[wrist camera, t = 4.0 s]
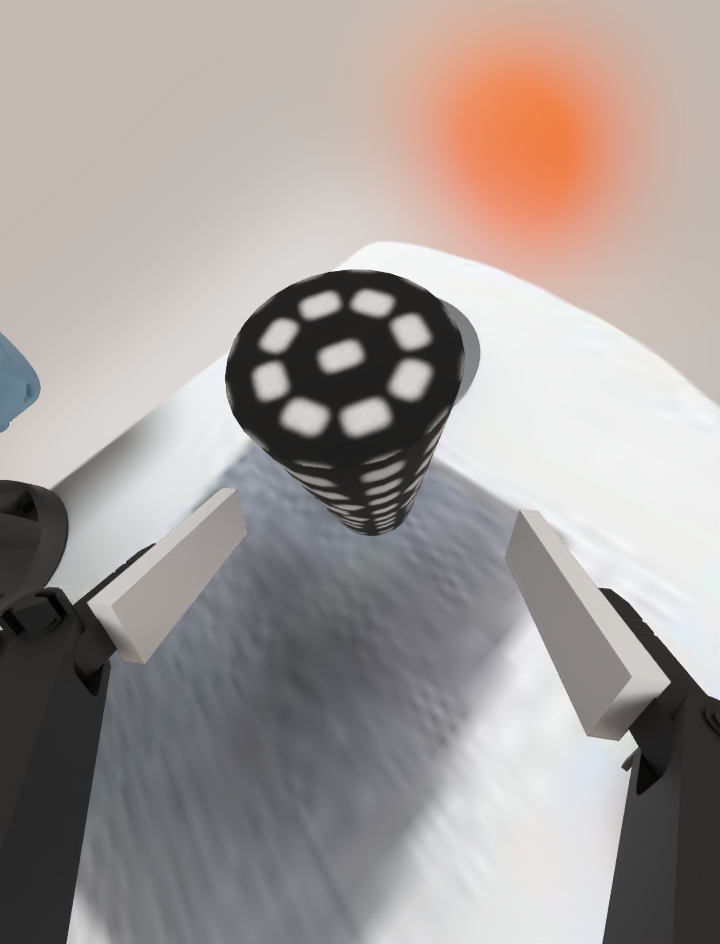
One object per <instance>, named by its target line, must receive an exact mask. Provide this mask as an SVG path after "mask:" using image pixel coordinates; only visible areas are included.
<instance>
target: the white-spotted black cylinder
mask: <svg viewBox="0 0 720 944" xmlns="http://www.w3.org/2000/svg"><path fill="white" fill-rule="evenodd" d="M464 361H465V351H464V346H463V341H462V336H461V333H460V331H459V329H458V326H457V324H456V322H455V320H454V318H453V316H452V315H451V314H450V312H449V311H448V310H447V308H446V307H445V306H444V305H443V303H442V302H441V301H440V300H439V299H437V298H436V297H435V296H434V295H433V294H431V293H430V292H429V291H428V290H426V289H425V288H423V287H421V286H419V285H418V284H416V283H414V282H412V281H410V280H408V279H405V278H402V277H399V276H396V275H393V274H390V273H385V272H379V271H373V270H342V271H334V272H328V273H324V274H321V275H316V276H313V277H309V278H307V279H304V280H302V281H300V282H297V283H295V284H292V285H290V286H288V287H287V288H285V289H283V290H282V291H280V292H278V293H277V294H275V295H274V296H272V297H271V298H270V299H268V300H267V301H266V302H265V303H264V304H263V305H261V306H260V307H259V308H258V309H257V310H256V311H255V312H254V313H253V314H252V315H251V317H250V318H249V319H248V320H247V321H246V322H245V324H244V325H243V327H242V328H241V330H240V332H239V333H238V335H237V337H236V338H235V340H234V342H233V346H232V348H231V351H230V353H229V356H228V360H227V367H226V374H225V382H226V393H227V398H228V401H229V404H230V407H231V410H232V413H233V415H234V417H235V418H236V420H237V421H238V423H239V424H240V426H241V427H242V429H243V431H244V432H245V433H246V434H247V435H248V436H249V437H250V438H252V439H253V440H254V441H255V442H256V443H257V444H258V445H259V446H260V447H261V448H262V449H263V450H264V451H265V452H266V453H268V454H269V455H270V456H271V457H272V458H273V459H274V460H275V461H276V462H277V463H278V464H279V465H280V466H282V467H283V468H284V469H285V470H286V471H287V472H288V473H289V474H290V475H291V476H292V477H293V478H294V479H296V480H297V481H298V482H299V483H300V484H301V485H302V486H303V487H304V488H305V489H306V490H307V491H308V492H310V493H311V494H312V495H313V496H314V497H315V498H316V499H317V500H318V501H319V502H320V503H321V504H322V505H324V506H325V507H326V508H327V509H328V510H329V511H330V512H331V513H332V514H333V515H334V516H335V517H337V518H338V519H339V520H340V521H341V522H342V523H343V524H344V525H345V526H346V527H347V528H349V529H351V530H352V531H354V532H356V533H359V534H362V535H368V536H376V535H382V534H386V533H388V532H390V531H392V530H394V529H396V528H397V527H398V526H399V525H401V524H402V522H403V521H404V520H405V519H406V517H407V516H408V514H409V512H410V510H411V507H412V505H413V502H414V500H415V498H416V495H417V493H418V490H419V488H420V485H421V483H422V480H423V478H424V476H425V473H426V471H427V468H428V466H429V463H430V461H431V458H432V456H433V454H434V451H435V449H436V446H437V444H438V441H439V439H440V436H441V434H442V432H443V429H444V427H445V424H446V422H447V419H448V417H449V414H450V412H451V410H452V407H453V405H454V402H455V400H456V397H457V395H458V392H459V388H460V385H461V382H462V378H463V375H464Z"/></svg>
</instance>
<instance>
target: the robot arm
mask: <svg viewBox="0 0 720 944" xmlns="http://www.w3.org/2000/svg"><path fill="white" fill-rule="evenodd" d="M39 394H40V382H39V379H38V377H37V374H36V372H35V371H34V369H33V368H32V367H31V365H30V363H29V362H28V361H27V360H26V359H25V357H24V356H23V355H22V354H21V353H20V352H19V351H18V349H17V348H16V347H15V346H14V345H13V344H12V343H11V342H10V341H9V340H8V339H7V338H6V337H5V336H4V335H3V334H2V333H1V332H0V432H3V431H5V430H6V429H7V428H8V426H9V422H10V421H12V420H13V419H14V418H15V417H17V416H18V415H19V414H20V413H21V412H23V411H24V410H25V409H27V408H28V407H29V406H30V405H32V404H33V403H34V402H35V401H36V399H37V398H38V397H39ZM66 533H67V520H66V514H65V510H64V507H63V505H62V503H61V501H60V500H59V498H58V497H57V496H56V495H55V494H54V493H53V492H51V491H50V490H48V489H46V488H44V487H40V486H36V485H32V484H27V483H23V482H17V481H10V480H0V626H1V627H2V629H3V630H0V944H66V942H67V936H68V930H69V924H70V918H71V911H72V905H73V899H74V893H75V886H76V880H77V874H78V868H79V862H80V855H81V849H82V843H83V837H84V830H85V824H86V818H87V812H88V806H89V799H90V793H91V787H92V781H93V775H94V768H95V762H96V756H97V750H98V743H99V737H100V731H101V725H102V719H103V712H104V706H105V700H106V694H107V688H108V681H109V675H110V669H111V665H110V661H109V659H108V658H109V657H110V656H111V655H112V654H113V653H114V652H115V651H116V650H117V651H118V652H119V654H120V656H121V657H122V659H123V660H124V661H129V662H135V663H141V664H145V663H146V662H147V660H148V659H149V658H150V657H151V655H152V654H153V653H154V652H155V650H156V649H157V648H158V646H159V645H160V644H161V643H162V641H163V640H164V639H165V638H166V636H167V635H168V634H169V632H170V631H171V630H172V629H173V627H174V626H175V625H176V624H177V622H178V621H179V620H180V618H181V617H182V616H183V615H184V613H185V612H186V611H187V610H188V608H189V607H190V606H191V604H192V603H193V602H194V601H195V599H196V598H197V597H198V596H199V594H200V593H201V592H202V590H203V589H204V588H205V587H206V585H207V584H208V583H209V581H210V580H211V579H212V578H213V576H214V575H215V574H216V573H217V571H218V570H219V569H220V567H221V566H222V565H223V564H224V562H225V561H226V560H227V559H228V557H229V556H230V555H231V553H232V552H233V551H234V550H235V548H236V547H237V546H238V545H239V543H240V542H241V541H242V539H243V538H244V537H245V536H246V534H247V531H246V527H245V522H244V518H243V514H242V509H241V505H240V500H239V496H238V491H237V489H229V488H222V489H221V490H220V491H218V492H217V493H216V494H215V495H214V496H212V497H211V498H210V499H209V500H208V501H207V502H205V503H204V504H203V505H202V506H201V507H199V508H198V509H197V510H196V511H195V512H194V513H192V514H191V515H190V516H189V517H188V518H186V519H185V520H184V521H183V522H182V523H181V524H179V525H178V526H177V527H176V528H175V529H173V530H172V531H171V532H170V533H169V534H168V535H166V536H165V537H164V538H163V539H162V540H160V541H159V542H158V543H157V544H156V543H153V544H152V545H150V546H148V547H146V548H144V549H142V550H141V551H139V552H137V553H136V554H135V555H134V556H133V557H131V558H130V559H129V560H128V561H126V564H123V565H122V566H120V567H119V568H118V569H117V570H116V572H115V573H112V574H111V575H109V576H108V577H107V578H106V579H104V580H103V581H102V582H101V583H100V584H98V585H97V586H96V587H95V588H93V589H92V590H91V591H90V592H89V593H87V594H86V595H85V596H84V597H82V598H81V599H80V600H79V601H78V602H76V603H75V604H74V605H72V604H71V602H70V601H69V599H68V598H67V596H66V595H65V594H64V592H63V591H62V590H61V589H59V588H55V587H49V588H44V589H42V588H43V586H44V585H45V584H46V582H47V581H48V580H49V578H50V576H51V575H52V573H53V571H54V570H55V568H56V566H57V564H58V562H59V559H60V557H61V554H62V551H63V548H64V544H65V540H66ZM505 559H506V561H507V564H508V566H509V568H510V570H511V572H512V574H513V577H514V579H515V581H516V583H517V585H518V587H519V590H520V592H521V594H522V596H523V598H524V600H525V603H526V605H527V607H528V609H529V611H530V614H531V616H532V618H533V620H534V622H535V624H536V627H537V629H538V631H539V633H540V635H541V637H542V640H543V642H544V644H545V646H546V648H547V650H548V653H549V655H550V657H551V659H552V661H553V663H554V666H555V668H556V670H557V672H558V674H559V676H560V679H561V681H562V683H563V685H564V687H565V689H566V692H567V694H568V696H569V698H570V700H571V702H572V705H573V707H574V709H575V711H576V713H577V715H578V718H579V720H580V722H581V724H582V726H583V728H584V731H585V733H586V735H587V736H591V737H597V738H603V739H609V740H615V741H619V740H620V739H621V738H622V737H623V736H624V735H625V733H626V732H627V731H628V730H629V731H630V732H631V734H632V736H633V737H634V739H635V741H636V743H637V744H638V746H639V747H638V748H637V749H636V750H635V751H634V752H633V753H632V754H631V755H630V756H629V757H628V758H627V759H626V760H625V762H624V763H623V765H622V768H623V769H624V770H625V771H628V770H629V769H630V768H631V767H632V769H631V775H630V781H629V787H628V793H627V799H626V805H625V811H624V817H623V823H622V829H621V835H620V841H619V847H618V853H617V859H616V865H615V871H614V877H613V883H612V889H611V895H610V901H609V907H608V913H607V919H606V925H605V931H604V937H603V943H602V944H720V701H719V700H717V699H715V698H713V697H710V696H708V695H707V694H706V693H705V692H704V691H703V690H702V689H701V688H700V686H699V685H698V684H697V683H696V682H695V681H694V679H693V678H692V677H691V676H690V675H689V673H688V672H687V671H686V670H685V669H684V668H683V666H682V665H681V664H680V663H679V662H678V660H677V659H676V658H675V657H674V656H673V655H672V653H671V652H670V651H669V650H668V649H667V647H666V646H665V645H664V644H663V643H662V642H661V640H660V639H659V638H658V637H657V636H655V635H654V632H653V631H652V630H651V629H650V627H649V626H648V625H647V624H646V623H645V622H643V621H642V618H641V617H640V616H639V614H638V613H637V612H636V611H635V610H634V609H633V607H632V606H631V605H630V604H629V603H628V602H627V601H625V600H624V599H623V598H622V597H620V596H619V595H618V594H616V593H615V592H614V591H613V590H611V589H605V588H598V587H597V586H596V585H595V583H594V582H593V581H592V580H591V578H590V577H589V576H588V574H587V573H586V572H585V571H584V569H583V568H582V567H581V565H580V564H579V563H578V561H577V560H576V559H575V558H574V556H573V555H572V554H571V552H570V551H569V550H568V549H567V547H566V546H565V545H564V543H563V542H562V541H561V540H560V538H559V537H558V536H557V534H556V533H555V532H554V531H553V529H552V528H551V527H550V525H549V524H548V523H547V522H546V520H545V519H544V518H543V516H542V515H541V514H540V512H539V511H532V510H519V513H518V516H517V519H516V523H515V526H514V529H513V532H512V536H511V539H510V542H509V546H508V549H507V552H506V555H505Z"/></svg>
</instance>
